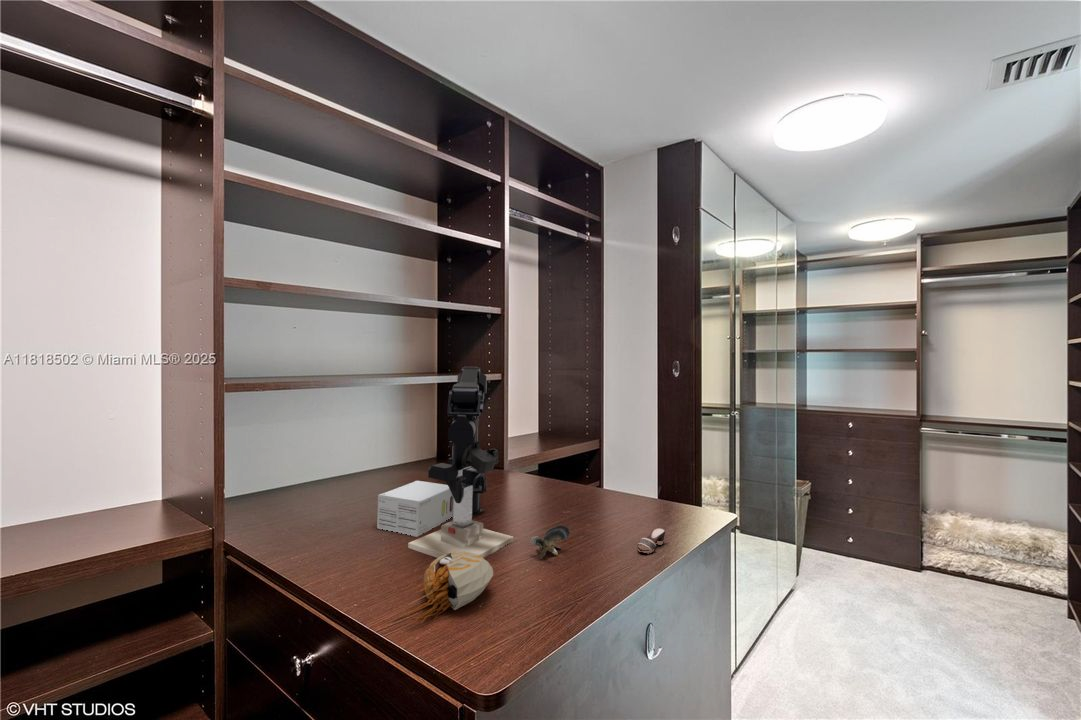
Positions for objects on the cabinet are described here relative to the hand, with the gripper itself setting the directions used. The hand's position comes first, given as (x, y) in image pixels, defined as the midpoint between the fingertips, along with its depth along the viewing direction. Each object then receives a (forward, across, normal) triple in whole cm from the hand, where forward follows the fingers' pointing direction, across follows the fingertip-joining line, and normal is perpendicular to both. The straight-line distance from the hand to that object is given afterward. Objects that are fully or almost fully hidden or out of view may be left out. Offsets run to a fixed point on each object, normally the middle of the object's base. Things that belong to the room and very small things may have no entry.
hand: (462, 501), depth 120 cm
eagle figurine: (+11, +8, -20) cm, 25 cm away
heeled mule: (+11, +26, -39) cm, 48 cm away
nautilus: (+11, -22, -15) cm, 29 cm away
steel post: (+8, 0, 0) cm, 8 cm away
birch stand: (+11, 0, 0) cm, 11 cm away
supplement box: (+11, +4, +20) cm, 23 cm away
